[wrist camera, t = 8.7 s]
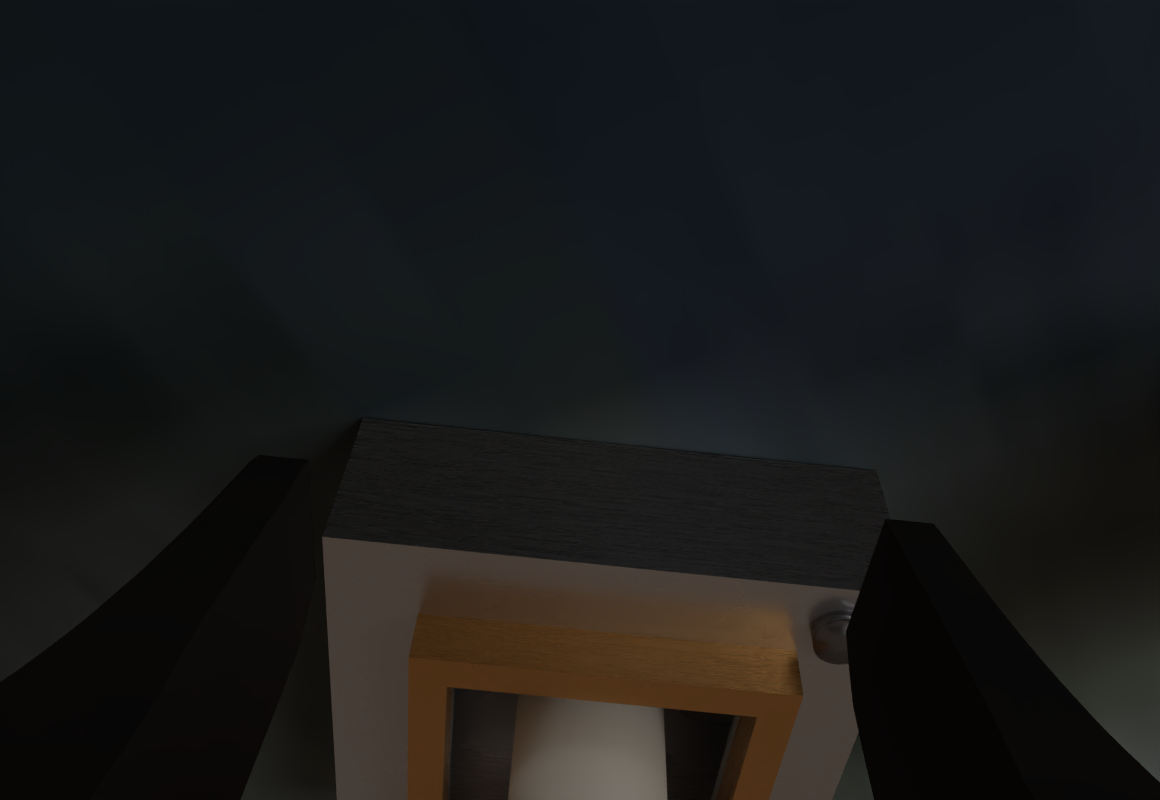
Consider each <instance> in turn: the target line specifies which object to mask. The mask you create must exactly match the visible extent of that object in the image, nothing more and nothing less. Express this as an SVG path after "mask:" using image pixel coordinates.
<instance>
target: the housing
mask: <svg viewBox="0 0 1160 800" xmlns="http://www.w3.org/2000/svg"><path fill="white" fill-rule="evenodd" d="M885 519H890V517H889V513H888V509H887V506H886V502H885V499H884V495H883V492H882V488H881V485H880V481H879V477H878V474H877V471H871V470H862V469H852V468H842V467H833V466H823V465H813V464H803V463H794V462H784V461H774V460H764V459H755V458H745V457H735V456H726V455H716V454H706V453H696V452H687V451H677V450H667V449H658V448H648V447H638V446H628V445H619V444H609V443H599V442H590V441H580V440H570V439H560V438H551V437H541V436H531V435H522V434H512V433H502V432H492V431H483V430H473V429H463V428H454V427H444V426H434V425H424V424H415V423H405V422H395V421H386V420H376V419H366V418H363V419H362V422H361V425H360V428H359V431H358V434H357V437H356V440H355V443H354V445H353V448H352V451H351V454H350V457H349V460H348V463H347V466H346V469H345V472H344V475H343V478H342V481H341V484H340V486H339V489H338V492H337V495H336V498H335V501H334V504H333V507H332V510H331V513H330V516H329V519H328V522H327V525H326V527H325V530H324V533H323V536H322V540H323V558H324V576H325V594H326V612H327V630H328V648H329V665H330V683H331V701H332V719H333V737H334V755H335V773H336V790H337V800H508V795H509V785H510V774H511V764H512V753H513V743H514V732H515V722H516V711H517V701H518V694H524V695H535V696H545V697H555V698H565V699H576V700H586V701H596V702H606V703H617V704H627V705H637V706H647V707H658V708H664V729H665V754H666V779H667V800H832V799H833V796H834V793H835V791H836V788H837V786H838V783H839V781H840V778H841V776H842V773H843V770H844V768H845V765H846V763H847V760H848V758H849V755H850V753H851V750H852V748H853V745H854V742H855V740H856V737H857V735H858V732H859V731H858V727H857V722H856V718H855V713H854V708H853V702H852V693H851V684H850V674H849V663H848V652H847V640H846V629H847V626H848V624H849V621H850V618H851V615H852V612H853V609H854V606H855V604H856V601H857V598H858V595H859V592H860V589H861V587H862V584H863V581H864V578H865V575H866V572H867V569H868V567H869V564H870V561H871V558H872V555H873V552H874V549H875V547H876V544H877V541H878V538H879V535H880V532H881V529H882V527H883V524H884V521H885Z"/></svg>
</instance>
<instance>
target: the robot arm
mask: <svg viewBox="0 0 1160 800" xmlns="http://www.w3.org/2000/svg"><path fill="white" fill-rule="evenodd" d="M314 583H315V563H314V547H313V531H312V515H311V499H310V483H309V467H308V460H303V459H293V458H283V457H273V456H264V455H258V456H257V457H256V458H254V459H253V460H251V461H250V462H249V463H248V464H247V465H246V466H245V468H244V469H243V470H242V471H241V472H240V473H239V474H238V475H237V476H236V477H235V478H234V479H233V480H232V481H231V482H230V483H229V485H228V486H227V487H226V488H225V489H224V490H223V491H222V492H221V493H220V494H219V495H218V496H217V497H216V498H215V499H214V500H213V501H212V502H211V503H210V504H209V505H208V506H207V507H206V508H205V510H204V511H203V512H202V513H201V514H200V515H199V516H198V517H197V518H196V519H195V520H194V521H193V522H192V523H191V524H190V525H189V526H188V527H187V528H186V529H185V530H184V531H183V532H182V533H180V534H179V535H178V536H177V537H176V538H175V539H174V540H173V541H172V542H171V543H170V544H169V545H168V546H167V547H166V548H165V549H164V550H163V551H162V552H161V553H160V554H159V555H157V556H156V557H155V558H154V559H153V560H152V561H151V562H150V563H149V564H148V565H147V566H146V567H145V568H144V569H143V570H141V571H140V572H139V573H138V574H137V575H136V576H135V577H134V578H133V579H131V580H130V581H129V582H128V583H127V584H126V585H124V586H123V587H122V588H121V589H120V590H119V591H117V592H116V593H115V594H114V595H113V596H112V597H110V598H109V599H108V600H107V601H106V602H105V603H104V604H102V605H101V606H100V607H99V608H98V609H97V610H95V611H94V612H93V613H92V614H91V615H90V616H88V617H87V618H86V619H85V620H83V621H82V622H81V623H80V624H78V625H77V626H76V627H75V628H73V629H72V630H71V631H70V632H68V633H67V634H66V635H65V636H63V637H62V638H61V639H59V640H58V641H57V642H55V643H54V644H53V645H52V646H50V647H49V648H48V649H46V650H45V651H43V652H42V653H41V654H39V655H38V656H37V657H35V658H34V659H32V660H31V661H30V662H28V663H27V664H26V665H24V666H23V667H22V668H20V669H19V670H17V671H16V672H15V673H13V674H12V675H10V676H9V677H7V678H6V679H4V680H3V681H1V682H0V800H240V799H241V797H242V794H243V791H244V789H245V786H246V784H247V781H248V779H249V776H250V773H251V771H252V768H253V766H254V763H255V761H256V758H257V755H258V753H259V750H260V748H261V745H262V743H263V740H264V737H265V735H266V732H267V730H268V727H269V725H270V722H271V719H272V717H273V714H274V712H275V709H276V706H277V704H278V701H279V699H280V696H281V693H282V691H283V688H284V686H285V683H286V680H287V678H288V675H289V672H290V670H291V667H292V664H293V662H294V659H295V656H296V654H297V651H298V647H299V643H300V639H301V635H302V632H303V628H304V624H305V620H306V616H307V612H308V608H309V603H310V599H311V595H312V591H313V587H314ZM846 640H847V652H848V663H849V674H850V684H851V693H852V702H853V708H854V713H855V718H856V722H857V727H858V731H859V736H860V740H861V745H862V749H863V753H864V758H865V762H866V767H867V771H868V775H869V779H870V784H871V788H872V792H873V796H874V800H1160V782H1159V781H1158V780H1157V779H1155V778H1154V777H1153V776H1152V775H1151V774H1150V773H1149V772H1148V771H1147V770H1146V769H1145V768H1144V767H1143V766H1142V765H1141V764H1140V763H1139V762H1138V761H1137V760H1135V759H1134V758H1133V757H1132V756H1131V755H1130V754H1129V753H1128V752H1127V751H1126V750H1125V749H1124V748H1123V747H1122V746H1121V745H1120V744H1119V743H1118V742H1117V741H1116V740H1115V739H1114V738H1113V737H1112V736H1111V735H1110V734H1109V733H1108V732H1107V731H1106V730H1105V729H1104V728H1103V727H1102V726H1101V725H1100V724H1099V723H1098V722H1097V721H1096V720H1095V719H1094V718H1093V717H1092V715H1091V714H1090V713H1089V712H1088V711H1087V710H1086V709H1085V708H1084V707H1083V706H1082V705H1081V704H1080V702H1079V701H1078V700H1077V699H1076V698H1075V697H1074V696H1073V695H1072V694H1071V693H1070V692H1069V691H1068V689H1067V688H1066V687H1065V686H1064V685H1063V684H1062V683H1061V682H1060V681H1059V680H1058V678H1057V677H1056V676H1055V675H1054V674H1053V673H1052V671H1051V670H1050V669H1049V668H1048V667H1047V666H1046V665H1045V663H1044V662H1043V661H1042V660H1041V659H1040V658H1039V656H1038V655H1037V654H1036V653H1035V652H1034V651H1033V649H1032V648H1031V647H1030V646H1029V645H1028V643H1027V642H1026V641H1025V640H1024V638H1023V637H1022V636H1021V635H1020V634H1019V632H1018V631H1017V630H1016V629H1015V628H1014V626H1013V625H1012V624H1011V623H1010V621H1009V620H1008V619H1007V618H1006V616H1005V615H1004V614H1003V613H1002V611H1001V610H1000V609H999V608H998V606H997V605H996V604H995V603H994V601H993V600H992V599H991V597H990V596H989V595H988V594H987V592H986V591H985V590H984V588H983V587H982V586H981V585H980V583H979V582H978V581H977V579H976V578H975V577H974V575H973V574H972V573H971V572H970V570H969V569H968V568H967V566H966V565H965V564H964V562H963V561H962V560H961V558H960V557H959V556H958V555H957V553H956V552H955V551H954V549H953V548H952V547H951V545H950V544H949V543H948V542H947V540H946V539H945V538H944V536H943V535H942V534H941V533H940V531H939V530H938V529H937V527H936V526H935V525H934V524H931V523H921V522H911V521H901V520H891V519H885V521H884V524H883V527H882V529H881V532H880V535H879V538H878V541H877V544H876V547H875V549H874V552H873V555H872V558H871V561H870V564H869V567H868V569H867V572H866V575H865V578H864V581H863V584H862V587H861V589H860V592H859V595H858V598H857V601H856V604H855V606H854V609H853V612H852V615H851V618H850V621H849V624H848V626H847V629H846Z"/></svg>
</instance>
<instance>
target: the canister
mask: <svg viewBox="0 0 1160 800" xmlns="http://www.w3.org/2000/svg"><path fill="white" fill-rule="evenodd" d="M508 800H667V779H666V754H665V729H664V708H658V707H647V706H637V705H627V704H617V703H606V702H596V701H586V700H576V699H565V698H555V697H545V696H535V695H524V694H518V701H517V711H516V722H515V732H514V743H513V753H512V764H511V774H510V785H509V795H508Z"/></svg>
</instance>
